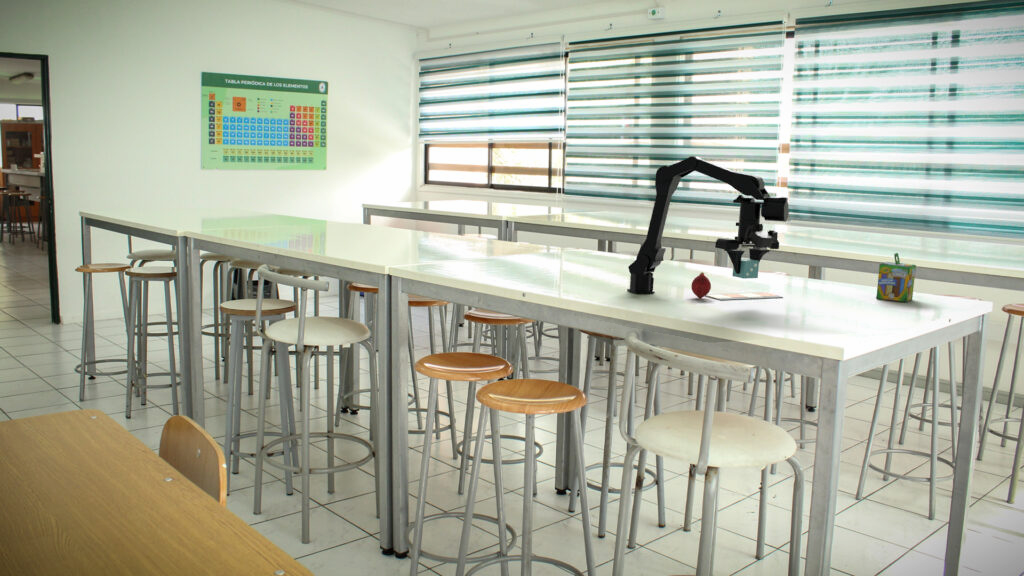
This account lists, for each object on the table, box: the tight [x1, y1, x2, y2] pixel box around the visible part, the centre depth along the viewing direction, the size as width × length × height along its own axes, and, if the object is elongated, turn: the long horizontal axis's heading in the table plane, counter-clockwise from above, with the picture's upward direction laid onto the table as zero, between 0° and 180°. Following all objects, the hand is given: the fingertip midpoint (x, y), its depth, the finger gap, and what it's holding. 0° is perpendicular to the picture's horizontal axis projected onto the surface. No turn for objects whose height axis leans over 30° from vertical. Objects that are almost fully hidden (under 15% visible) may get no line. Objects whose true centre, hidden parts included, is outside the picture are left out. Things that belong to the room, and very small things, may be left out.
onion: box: [691, 271, 712, 299], centre depth 240 cm, size 6×6×8 cm
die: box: [732, 258, 760, 280], centre depth 229 cm, size 5×5×5 cm
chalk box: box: [875, 252, 917, 303], centre depth 252 cm, size 9×9×15 cm
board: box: [704, 291, 784, 301], centre depth 247 cm, size 24×9×1 cm, turn 113°
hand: (745, 273), depth 229 cm, fingers closed on die, 5 cm apart
